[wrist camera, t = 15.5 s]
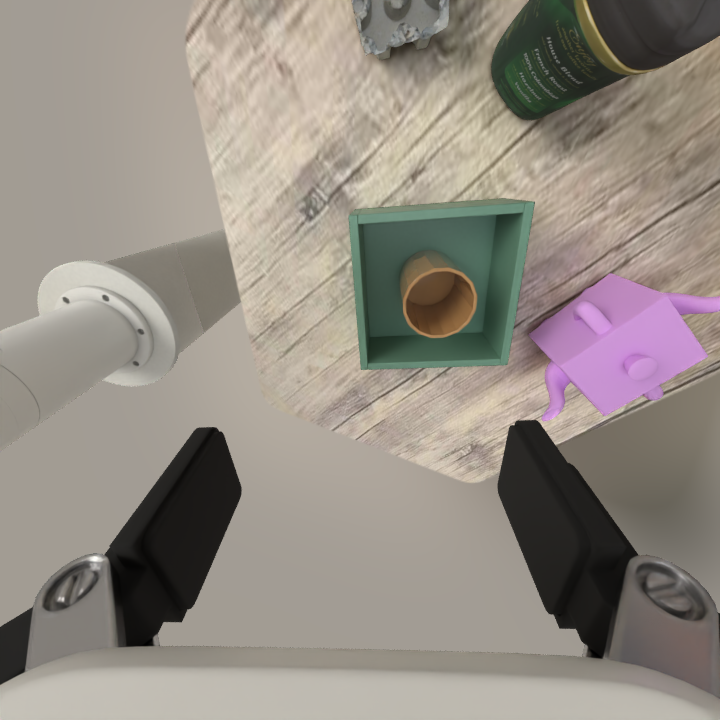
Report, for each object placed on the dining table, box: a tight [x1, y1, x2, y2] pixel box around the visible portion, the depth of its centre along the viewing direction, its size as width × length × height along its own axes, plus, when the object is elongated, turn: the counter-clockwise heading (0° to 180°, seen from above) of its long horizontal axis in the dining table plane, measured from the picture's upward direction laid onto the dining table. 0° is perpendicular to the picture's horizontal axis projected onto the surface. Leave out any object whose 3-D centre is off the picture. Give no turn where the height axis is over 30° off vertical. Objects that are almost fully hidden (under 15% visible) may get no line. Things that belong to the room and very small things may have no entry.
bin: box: [349, 198, 535, 370], centre depth 34 cm, size 16×16×8 cm
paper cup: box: [398, 250, 477, 338], centre depth 33 cm, size 7×7×9 cm
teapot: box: [528, 273, 720, 421], centre depth 35 cm, size 15×13×11 cm
